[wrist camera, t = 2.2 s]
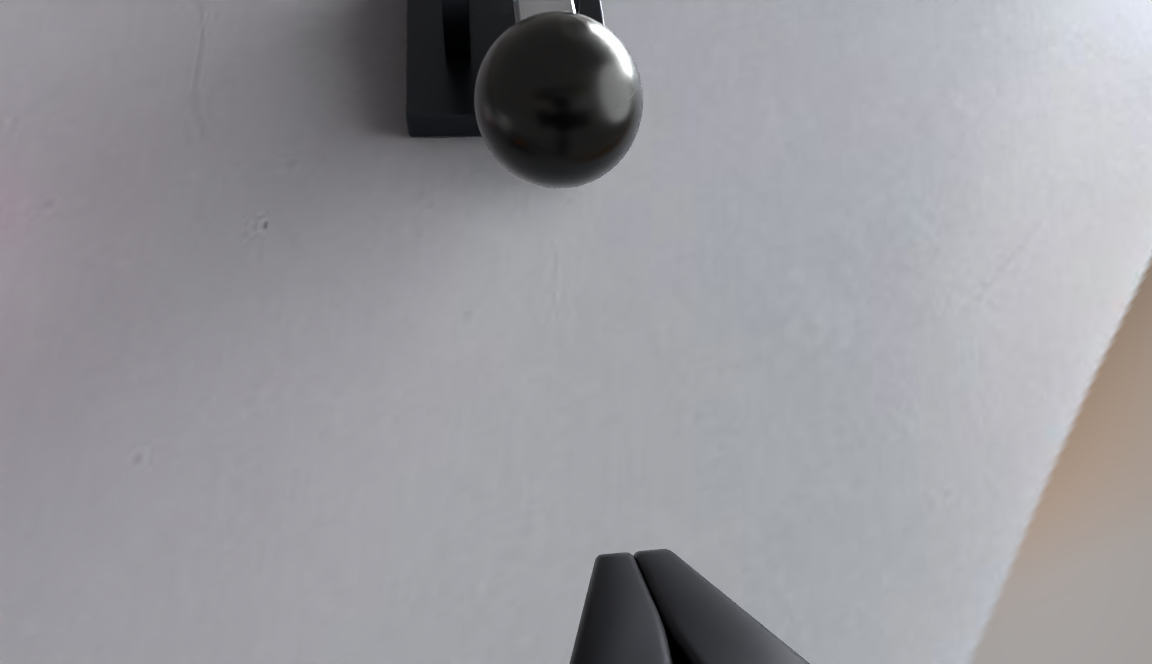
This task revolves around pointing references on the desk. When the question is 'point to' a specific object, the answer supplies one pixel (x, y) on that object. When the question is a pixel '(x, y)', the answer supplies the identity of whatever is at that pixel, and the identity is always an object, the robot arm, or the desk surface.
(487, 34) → the bracket
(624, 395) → the desk surface
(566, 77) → the lever
